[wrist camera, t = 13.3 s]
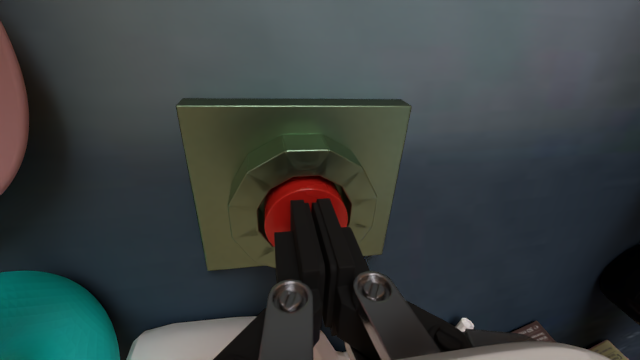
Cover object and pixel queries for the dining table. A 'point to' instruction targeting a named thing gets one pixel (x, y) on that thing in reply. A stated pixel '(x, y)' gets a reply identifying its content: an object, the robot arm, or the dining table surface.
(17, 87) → the plate
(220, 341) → the spray bottle
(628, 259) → the supplement bottle
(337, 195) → the button
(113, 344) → the donuts
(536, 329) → the box
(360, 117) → the switch box
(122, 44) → the dining table surface
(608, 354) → the box
